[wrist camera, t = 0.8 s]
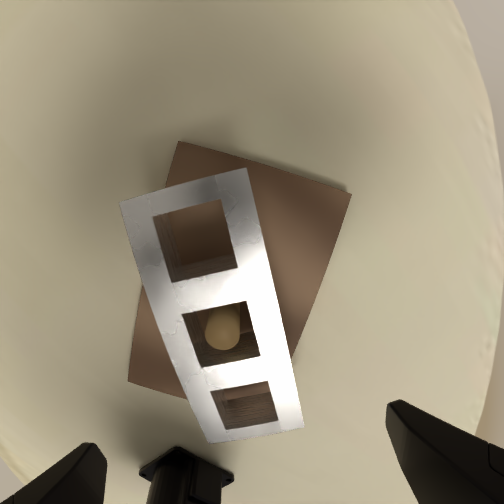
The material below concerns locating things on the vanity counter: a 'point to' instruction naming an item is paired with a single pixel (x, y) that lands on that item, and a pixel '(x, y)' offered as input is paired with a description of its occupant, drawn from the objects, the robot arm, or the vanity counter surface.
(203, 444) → the vanity counter surface
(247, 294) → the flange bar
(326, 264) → the post stand
